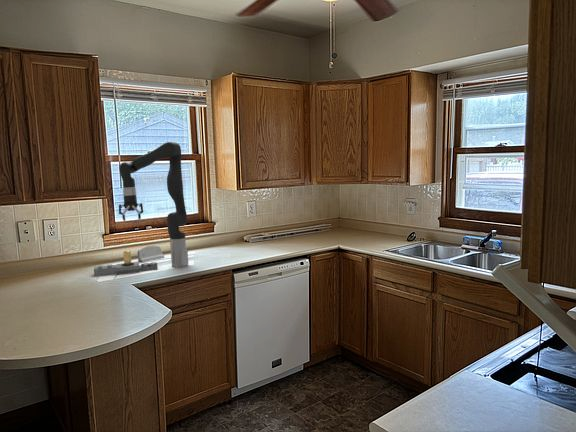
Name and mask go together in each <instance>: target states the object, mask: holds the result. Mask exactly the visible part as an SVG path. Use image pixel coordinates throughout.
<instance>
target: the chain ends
mask: <svg viewBox="0 0 576 432" xmlns="http://www.w3.org/2000/svg"><path fill="white" fill-rule="evenodd" d="M131 263H132V265H131V266H124V262H122V263H116V264H111V263H110V264H107V265H98V266H94V267H93V276H94V277H100V276H109V275H116V276H117V275H125V274H134V273H135V274H136V273H141V272H146V271H153V270H154V271H155V270H156V271H157V270H158V262H157V261H156V262H149V263H148V262H143V263H141V264H140V261H131Z"/></svg>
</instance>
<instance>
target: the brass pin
mask: <svg viewBox="0 0 576 432" xmlns="http://www.w3.org/2000/svg"><path fill="white" fill-rule="evenodd" d="M122 252H123V263H124V266H131V265H132V263H131V262H132V253H131V250H125V251H122Z"/></svg>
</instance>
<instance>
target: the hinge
mask: <svg viewBox="0 0 576 432" xmlns="http://www.w3.org/2000/svg"><path fill="white" fill-rule="evenodd" d="M160 259H161V260H162V259H165V255H164V253H163V251H162V248H161V246H160V245H149V246H145V247H144V246H143V247H142V248H140V249H138V250H137V260H138V261H137V262H141V263H148V262H151V261H156V260H160Z"/></svg>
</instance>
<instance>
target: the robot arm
mask: <svg viewBox="0 0 576 432" xmlns="http://www.w3.org/2000/svg"><path fill="white" fill-rule="evenodd" d="M165 158H168V159H169V160H168V161H169V168H168V173H167V176H166V188H167V193H168V194H169V195H170V197H171V199H172V200H173V203H174V205H175V211H173V212H170V213H168V214H167V217H166V222H167V223H166V224H167V233H168V235H169V245H170V260H171V267H172V268H183V267H186V266H189V254H188V252H189V250H188V249H187V242H186V233H185V232H183V231H181V230H180V227H184V226H186V224H187V223H188V222H187V221H188V216H187V210H186V206H185V205H186V204H185V198H184V184H183V173H182V171H183V170H182V149H181V145H180V144H179V143H177V142H175V141H166V142H164V143H163V144H161V145H160V146H157V148H155V149H153V150H152V151H149V152H147V153H144V154H142V155H140V156H138V157H136V158H134V159H133V160H131V161H126V162H125V161H124V162H121V163H120V164H119V167H118V169H119V175H120V177H121V180H122V186H123V187H122V194H123V204H118V214H119V215H122V220H123V222H126V215H125V214H126V213H127V212H130V211H132V212H134V211H135V212H137V215H138V216H137V219H138V220H139V221H140V220H141V219H142V217H141V216H142V215H141V214H144V208H143V203H142V202H140V203H138V201H137V200H138V199H137V190H136V181H135V178H134V177H132V175H131V174H134V173H136V172H138V171H139V170H141V169H145V168H146V167H148V166H149V167H150V166H151V165H152V164H153V163H155V162H156V161H159V160H160V159H161V160H162V159H165ZM138 207H139V208H140V210H139V209H138ZM122 208H124V210H123V211H122Z"/></svg>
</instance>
